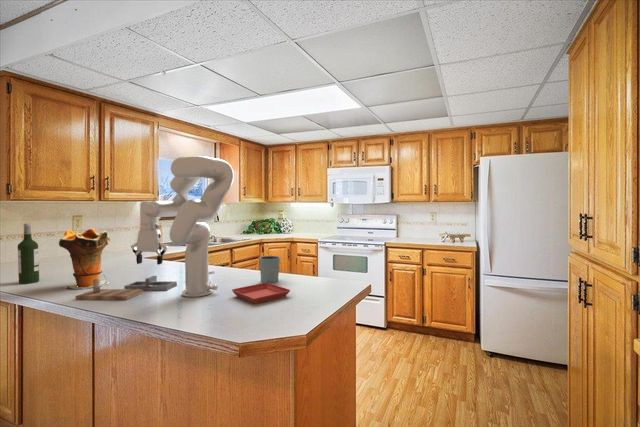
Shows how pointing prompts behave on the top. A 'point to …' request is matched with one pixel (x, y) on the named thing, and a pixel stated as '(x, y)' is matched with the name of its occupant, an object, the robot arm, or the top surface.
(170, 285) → the grey rectangular tray
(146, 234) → the robot arm
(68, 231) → the decorative vase
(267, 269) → the grey green bin
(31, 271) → the wine bottle
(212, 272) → the adjustable wrench
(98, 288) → the keeper
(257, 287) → the plant saucer
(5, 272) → the top surface
